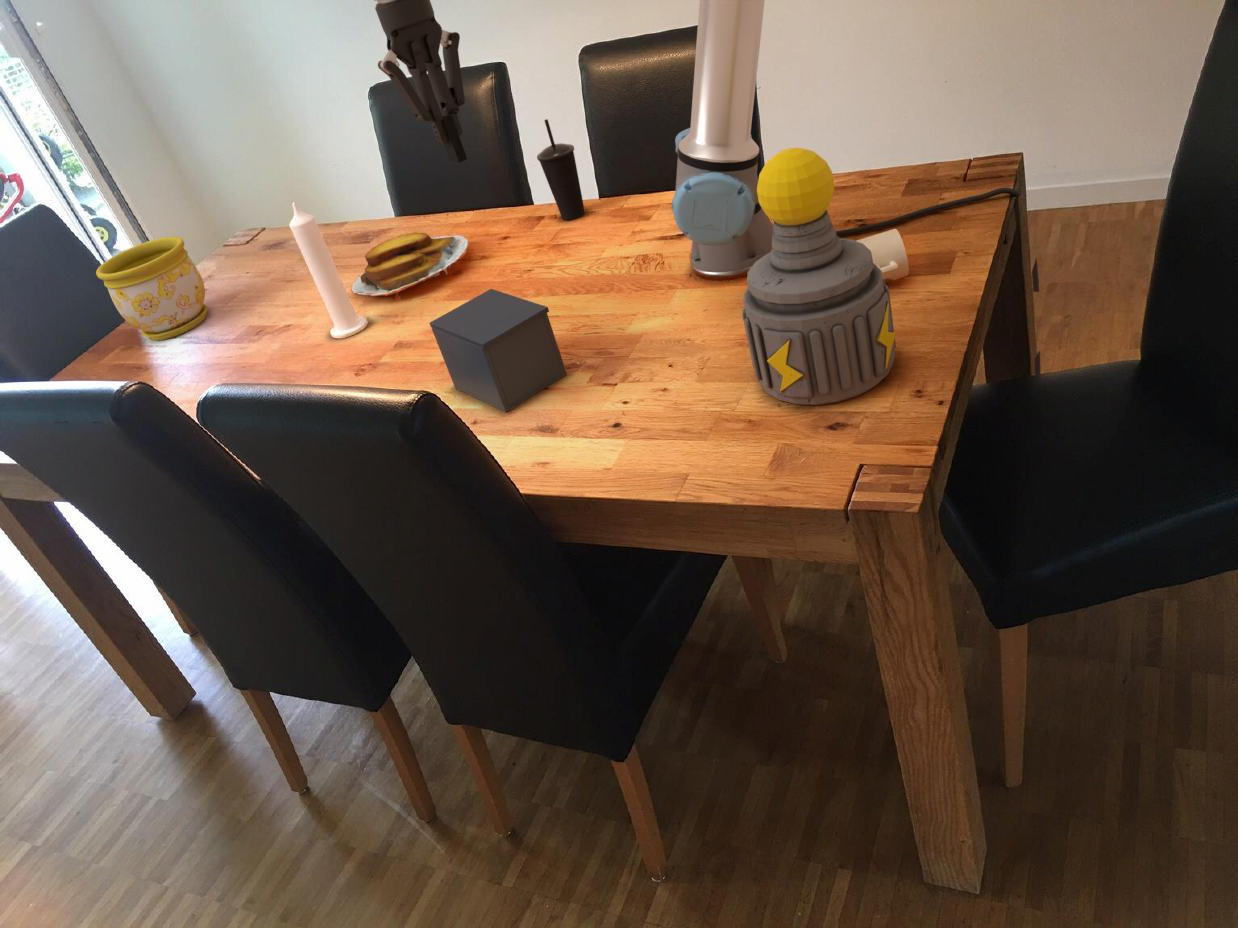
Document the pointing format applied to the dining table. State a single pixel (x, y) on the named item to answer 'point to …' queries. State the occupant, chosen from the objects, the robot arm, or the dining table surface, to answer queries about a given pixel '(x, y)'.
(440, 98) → the robot arm
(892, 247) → the character mug
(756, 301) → the decorative lamp
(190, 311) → the flowerpot
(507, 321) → the lid
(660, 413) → the dining table surface
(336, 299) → the candle
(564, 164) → the drinking cup
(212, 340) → the dining table surface
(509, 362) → the box
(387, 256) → the food on plate
